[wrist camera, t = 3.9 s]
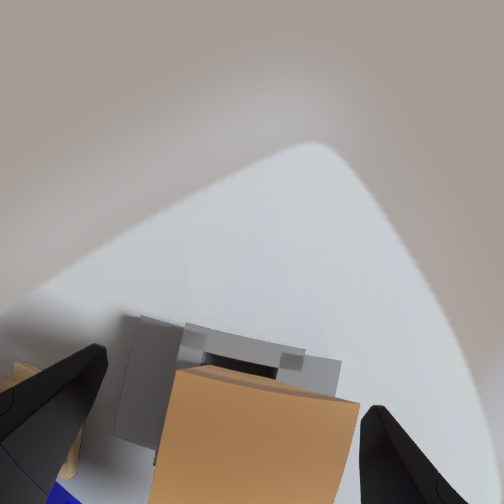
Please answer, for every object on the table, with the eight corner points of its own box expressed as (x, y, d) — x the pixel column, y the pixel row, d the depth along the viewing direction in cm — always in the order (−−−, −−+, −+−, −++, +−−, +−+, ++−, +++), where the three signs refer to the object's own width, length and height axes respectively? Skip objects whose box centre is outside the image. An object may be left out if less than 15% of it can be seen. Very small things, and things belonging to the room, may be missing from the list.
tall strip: (242, 445, 13) (290, 601, 2) (194, 435, 13) (136, 579, 2) (259, 375, 15) (360, 404, 4) (211, 364, 15) (176, 370, 4)
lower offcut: (79, 471, 13) (66, 480, 11) (20, 439, 13) (4, 443, 11) (91, 391, 15) (78, 393, 13) (31, 362, 15) (14, 361, 13)
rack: (307, 470, 14) (332, 498, 10) (121, 430, 14) (91, 448, 10) (332, 361, 17) (365, 359, 13) (147, 319, 17) (124, 304, 13)
